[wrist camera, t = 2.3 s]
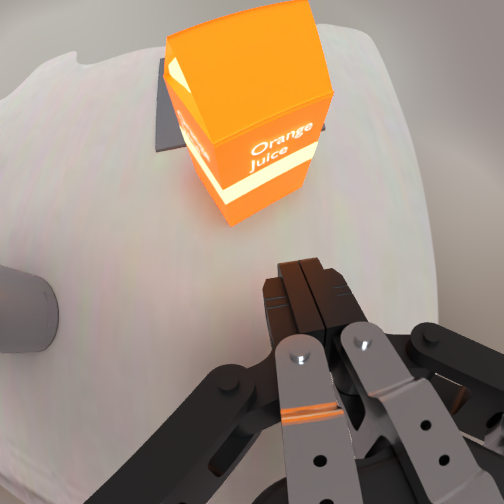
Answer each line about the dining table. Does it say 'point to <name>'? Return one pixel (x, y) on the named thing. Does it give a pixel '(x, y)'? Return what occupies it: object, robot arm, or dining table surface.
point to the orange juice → (250, 102)
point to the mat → (168, 118)
